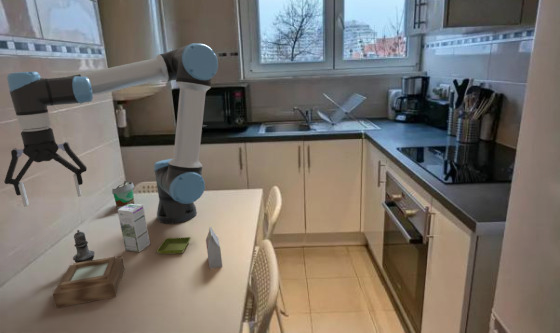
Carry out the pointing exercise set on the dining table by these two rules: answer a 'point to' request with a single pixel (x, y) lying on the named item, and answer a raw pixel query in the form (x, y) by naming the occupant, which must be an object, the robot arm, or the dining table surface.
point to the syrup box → (133, 227)
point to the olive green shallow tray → (173, 245)
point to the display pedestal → (89, 281)
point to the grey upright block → (213, 250)
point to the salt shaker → (82, 248)
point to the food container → (123, 194)
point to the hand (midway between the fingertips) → (53, 200)
